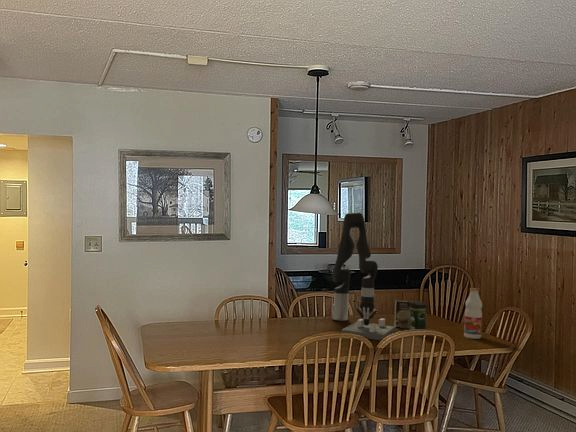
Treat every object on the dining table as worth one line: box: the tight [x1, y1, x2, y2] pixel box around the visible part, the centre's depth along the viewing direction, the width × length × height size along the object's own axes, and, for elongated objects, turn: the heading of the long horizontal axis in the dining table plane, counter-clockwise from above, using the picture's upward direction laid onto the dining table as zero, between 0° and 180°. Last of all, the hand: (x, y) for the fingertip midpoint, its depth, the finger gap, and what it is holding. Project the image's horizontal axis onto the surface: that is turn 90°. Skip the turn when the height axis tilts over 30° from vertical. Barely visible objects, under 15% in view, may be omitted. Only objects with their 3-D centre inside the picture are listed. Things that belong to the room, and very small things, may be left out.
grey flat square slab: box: [340, 321, 396, 341], centre depth 327 cm, size 24×26×3 cm
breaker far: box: [378, 317, 386, 327], centre depth 333 cm, size 2×5×4 cm, turn 154°
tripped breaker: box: [356, 318, 364, 327], centre depth 329 cm, size 2×5×4 cm, turn 154°
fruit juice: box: [463, 287, 483, 340], centre depth 326 cm, size 9×9×28 cm
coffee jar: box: [408, 300, 427, 331], centre depth 332 cm, size 10×8×19 cm
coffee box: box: [393, 299, 412, 329], centre depth 348 cm, size 9×6×16 cm
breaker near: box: [369, 322, 377, 332], centre depth 317 cm, size 2×5×4 cm, turn 154°
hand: (366, 325), depth 328 cm, fingers closed
